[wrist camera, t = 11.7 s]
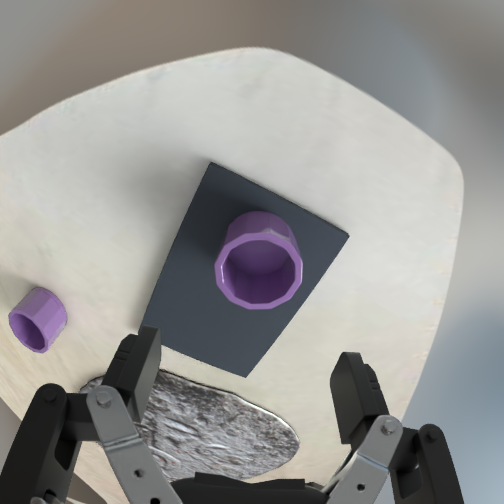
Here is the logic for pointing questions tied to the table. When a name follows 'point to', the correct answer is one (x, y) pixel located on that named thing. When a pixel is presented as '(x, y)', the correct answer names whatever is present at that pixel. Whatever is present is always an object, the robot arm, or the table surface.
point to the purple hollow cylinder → (258, 261)
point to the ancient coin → (210, 431)
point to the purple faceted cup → (38, 319)
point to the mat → (204, 281)
